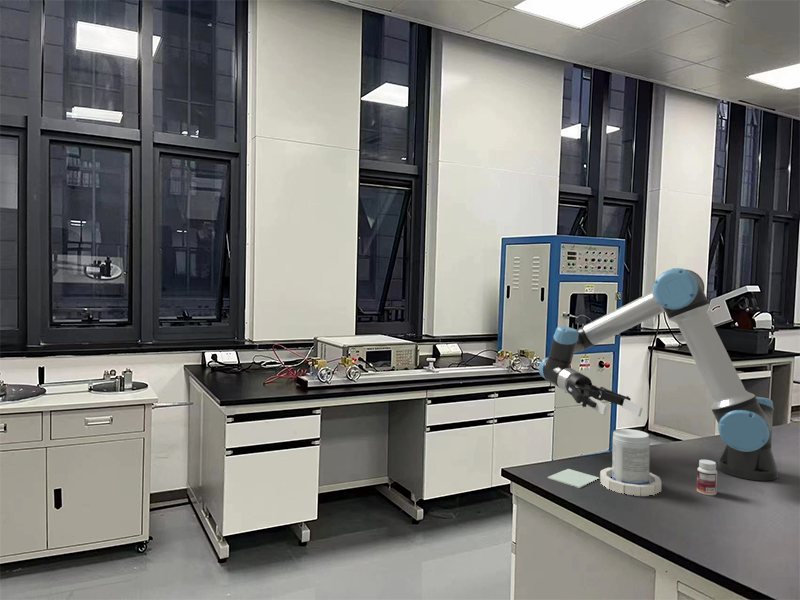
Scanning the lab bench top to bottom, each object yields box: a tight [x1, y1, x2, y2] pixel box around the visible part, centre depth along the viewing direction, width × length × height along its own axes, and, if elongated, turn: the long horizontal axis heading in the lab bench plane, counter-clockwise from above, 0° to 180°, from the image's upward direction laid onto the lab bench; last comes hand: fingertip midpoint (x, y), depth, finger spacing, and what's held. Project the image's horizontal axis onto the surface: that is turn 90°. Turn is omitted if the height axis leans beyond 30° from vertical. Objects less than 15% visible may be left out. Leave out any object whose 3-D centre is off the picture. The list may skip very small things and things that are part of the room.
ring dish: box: [599, 466, 663, 497], centre depth 157 cm, size 16×16×2 cm
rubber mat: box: [547, 468, 600, 489], centre depth 161 cm, size 10×11×1 cm
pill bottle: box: [696, 459, 718, 496], centre depth 152 cm, size 5×5×8 cm
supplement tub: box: [611, 428, 651, 485], centre depth 156 cm, size 10×10×15 cm
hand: (623, 411), depth 162 cm, fingers open, 13 cm apart
